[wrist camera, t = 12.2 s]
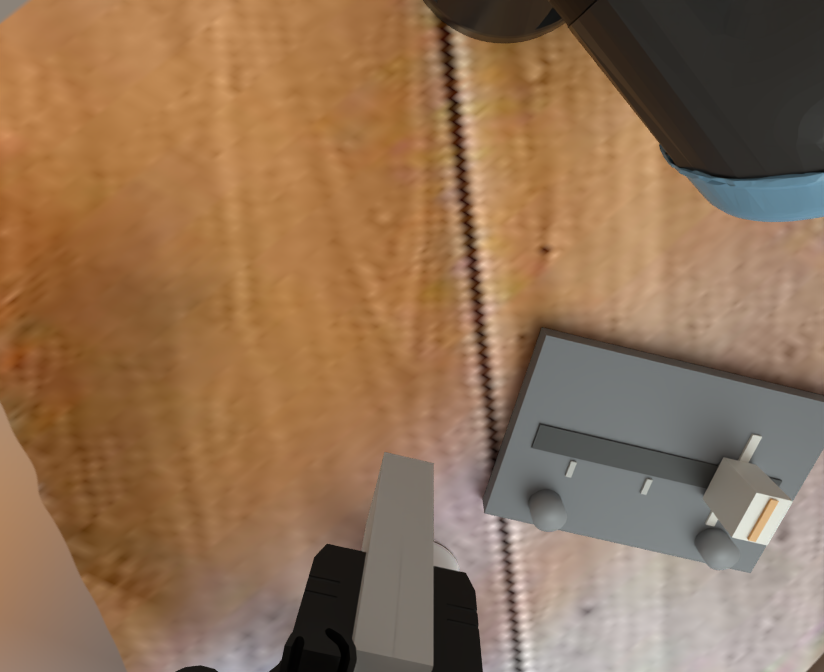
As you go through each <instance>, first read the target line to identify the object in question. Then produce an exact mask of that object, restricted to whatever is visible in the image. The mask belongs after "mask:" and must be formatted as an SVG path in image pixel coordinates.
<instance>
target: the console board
mask: <svg viewBox="0 0 824 672" xmlns="http://www.w3.org/2000/svg"><path fill="white" fill-rule="evenodd" d="M823 449H824V395H820V394H815V393H811V392H807V391H803V390H799V389H795V388H791V387H786V386H782V385H778V384H774V383H770V382H766V381H762V380H758V379H753V378H749V377H745V376H741V375H737V374H733V373H729V372H724V371H720V370H716V369H712V368H708V367H704V366H700V365H696V364H691V363H687V362H683V361H679V360H675V359H671V358H667V357H662V356H658V355H654V354H650V353H646V352H642V351H638V350H634V349H629V348H625V347H621V346H617V345H613V344H609V343H605V342H600V341H596V340H592V339H588V338H584V337H580V336H576V335H572V334H567V333H563V332H559V331H555V330H551V329H547V328H543V327H542V328H541V331H540V334H539V337H538V340H537V343H536V346H535V348H534V351H533V354H532V357H531V360H530V363H529V366H528V369H527V372H526V375H525V378H524V381H523V383H522V386H521V389H520V392H519V395H518V398H517V401H516V404H515V407H514V410H513V413H512V415H511V418H510V421H509V424H508V427H507V430H506V433H505V436H504V439H503V442H502V445H501V448H500V450H499V453H498V456H497V459H496V462H495V465H494V468H493V471H492V474H491V477H490V480H489V483H488V485H487V488H486V491H485V494H484V497H483V506H484V513H485V514H490V515H494V516H499V517H503V518H508V519H512V520H517V521H521V522H525V523H530V524H534V525H535V526H536V527H537V528H538V529H540V530H542V531H546V532H552V531H556V530H561V531H565V532H570V533H574V534H579V535H583V536H588V537H592V538H597V539H601V540H605V541H610V542H614V543H619V544H623V545H628V546H632V547H637V548H641V549H645V550H650V551H654V552H659V553H663V554H668V555H672V556H677V557H681V558H685V559H690V560H694V561H699V562H703V563H706V564H707V565H708V566H709V567H710V568H712V569H715V570H725V569H728V568H730V569H734V570H739V571H743V572H748V573H751V571H752V570H753V568H754V566H755V565H756V563H757V561H758V559H759V558H760V556H761V554H762V553H763V551H764V549H765V548H766V546H767V545H763V544H758V543H754V542H750V541H745V540H741V539H736V538H732V537H731V536H730V534H729V533H728V532H727V530H726V529H725V528H724V527H723V525H722V524H721V523H720V521H719V520H718V519H717V517H716V516H715V515H714V513H713V512H712V511H711V509H710V508H709V507H708V505H707V504H706V503H705V501H704V500H703V499H702V498H703V496H704V494H705V492H706V490H707V488H708V486H709V484H710V482H711V480H712V478H713V476H714V474H715V473H716V471H717V469H718V467H719V465H720V463H721V461H722V459H723V457H725V458H729V459H734V460H738V461H742V462H747V463H751V464H755V465H757V466H758V467H759V468H760V469H761V470H762V471H763V472H764V473H765V474H766V475H767V476H768V477H769V478H770V479H771V480H772V481H773V482H774V483H775V484H776V485H777V486H778V487H779V488H780V489H781V490H782V491H783V492H784V493H785V494H786V495H787V496H788V497H789V498H790V499H791V500H792V501H793V500H794V498H795V496H796V495H797V493H798V491H799V490H800V488H801V486H802V484H803V483H804V481H805V479H806V478H807V476H808V474H809V473H810V471H811V469H812V467H813V466H814V464H815V462H816V461H817V459H818V457H819V455H820V454H821V452H822V450H823Z"/></svg>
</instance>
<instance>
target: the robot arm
mask: <svg viewBox="0 0 824 672" xmlns="http://www.w3.org/2000/svg"><path fill="white" fill-rule="evenodd" d="M423 1H424V2H425V4H426V5H427V6H428V7H429V8H430V9H431V11H432V12H433V13H434V14H435V15H436V16H437V17H439V18H440V19H441V20H442V21H443V22H444V23H446V24H447V25H449V26H450V27H451V28H453V29H455V30H456V31H458V32H460V33H462V34H464V35H466V36H469V37H471V38H474V39H477V40H481V41H486V42H492V43H515V42H522V41H527V40H530V39H534V38H537V37H539V36H542V35H544V34H546V33H549V32H551V31H553V30H554V29H556V28H558V27H559V26H561V25H563V24H564V23H566V24H567V26H568V28H569V29H570V31H571V32H572V33H573V34H574V36H575V37H576V38H577V39H578V41H579V42H580V43H581V44H582V46H583V47H584V48H585V50H586V51H587V52H588V53H589V55H590V56H591V57H592V58H593V60H594V61H595V62H596V63H597V65H598V66H599V67H600V69H601V70H602V71H603V72H604V74H605V75H606V76H607V77H608V79H609V80H610V81H611V82H612V84H613V85H614V86H615V88H616V89H617V90H618V91H619V93H620V94H621V95H622V96H623V98H624V99H625V100H626V101H627V103H628V104H629V105H630V107H631V108H632V109H633V110H634V112H635V113H636V114H637V115H638V117H639V118H640V119H641V120H642V122H643V123H644V124H645V126H646V127H647V128H648V129H649V131H650V132H651V133H652V134H653V136H654V137H655V138H656V140H657V141H658V142H659V143H660V145H659V146H660V150H661V152H662V154H663V157H664V158H665V159H666V161H667V162H668V164H669V165H670V166H671V167H674V168H675V169H676V170H677V171H678V172H679V173H681V174H683V175H685V176H686V177H687V178H688V179H689V180H690V181H691V182H692V184H693V185H694V186H695V187H696V188H697V189H698V190H699V192H700V193H701V194H702V195H703V196H704V197H705V198H706V199H707V200H708V201H709V202H710V203H711V204H712V205H713V206H715V207H717V208H718V209H720V210H722V211H724V212H725V213H727V214H730V215H732V216H735V217H738V218H742V219H747V220H753V221H762V222H787V221H798V220H806V219H813V218H819V217H824V0H423ZM433 523H434V463H431V462H426V461H422V460H417V459H413V458H409V457H404V456H400V455H395V454H391V453H387V452H385V453H384V456H383V460H382V464H381V468H380V472H379V476H378V480H377V484H376V488H375V491H374V495H373V499H372V503H371V507H370V511H369V515H368V519H367V523H366V527H365V533H364V538H363V544H362V550H361V551H358V550H353V549H349V548H344V547H340V546H335V545H331V544H326V545H325V546H324V547H323V549H322V550H321V551H320V552H319V553H318V554H317V555H316V556H315V557H314V560H313V564H312V567H311V571H310V574H309V578H308V581H307V584H306V588H305V592H304V595H303V598H302V602H301V605H300V609H299V612H298V615H297V619H296V622H295V626H294V629H293V632H292V633H291V635H290V636H289V638H288V640H287V642H286V644H285V646H284V651H283V656H282V660H281V661H280V663H279V664H278V665H277V666H276V667H274V668H273V669H272V670H271V671H269V672H483V669H482V658H481V648H480V637H479V629H478V615H477V605H476V594H475V590H474V588H473V586H472V584H471V582H470V580H469V578H468V576H467V574H466V573H464V572H460V571H455V570H451V569H446V568H442V567H437V566H433ZM176 672H218V671H216V670H215V669H213V668H209V667H205V666H201V665H200V666H192V667H185V668H182V669H180V670H178V671H176Z"/></svg>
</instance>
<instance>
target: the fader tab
mask: <svg viewBox="0 0 824 672" xmlns="http://www.w3.org/2000/svg"><path fill="white" fill-rule="evenodd" d="M702 499H703V500H704V501H705V503H706V504H707V505H708V507H709V508H710V509H711V511H712V512H713V513H714V515H715V516H716V517H717V519H718V520H719V521H720V523H721V524H722V525H723V527H724V528H725V529H726V530H727V532H728V533H729V534H730V536H731V537H732V538H736V539H741V540H745V541H750V542H754V543H758V544H763V545H768V543H769V541H770V540H771V538H772V536H773V535H774V533H775V531H776V529H777V528H778V526H779V524H780V523H781V521H782V519H783V518H784V516H785V514H786V512H787V511H788V509H789V507H790V506H791V504H792V502H793V501H792V500H791V499H790V498H789V497H788V496H787V495H786V494H785V493H784V492H783V491H782V490H781V489H780V488H779V487H778V486H777V485H776V484H775V483H774V482H773V481H772V480H771V479H770V478H769V477H768V476H767V475H766V474H765V473H764V472H763V471H762V470H761V469H760V468H759V467H758V466H757V465H755V464H751V463H747V462H742V461H738V460H734V459H729V458H725V457H723V459H722V461H721V463H720V465H719V467H718V469H717V471H716V473H715V474H714V476H713V478H712V480H711V482H710V484H709V486H708V488H707V490H706V492H705V494H704V496H703V498H702Z"/></svg>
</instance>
